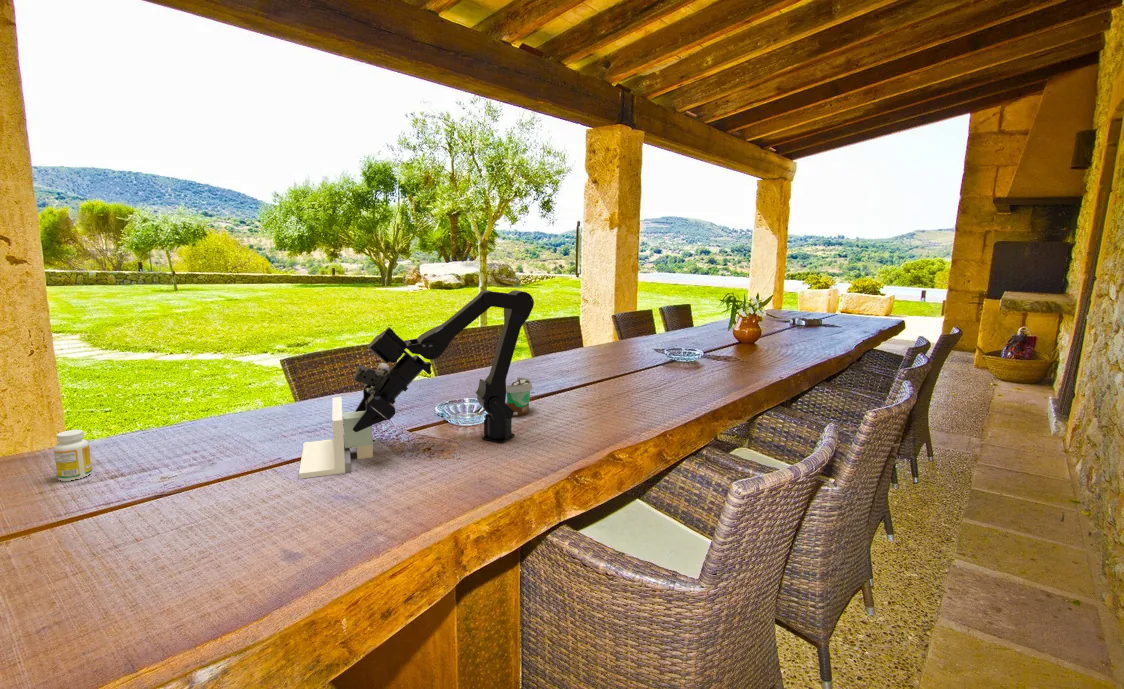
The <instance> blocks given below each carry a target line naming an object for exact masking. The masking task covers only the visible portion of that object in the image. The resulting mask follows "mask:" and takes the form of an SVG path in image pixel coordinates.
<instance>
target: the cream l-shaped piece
mask: <svg viewBox="0 0 1124 689" xmlns="http://www.w3.org/2000/svg"><path fill="white" fill-rule="evenodd" d="M342 405H343V400H342V396H335V397H332V414H331V415H332V417H331V419H332V421H331V423H332V436H333V438H332V439H323V440H322V439H321V440H316V441H305V442H303V446H302V451H301V452H302V453H301V460H300V464H299V471H298V479H299V480H302V479H309V478H316V477H324V476H325V477H326V476H332V475H340V474H347V473H352V462H351V448H345V437H344V418H343V406H342Z"/></svg>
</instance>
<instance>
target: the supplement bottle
mask: <svg viewBox="0 0 1124 689" xmlns="http://www.w3.org/2000/svg"><path fill="white" fill-rule="evenodd" d="M56 441H57V442H58V443H56V444H55V445H54V447H53V454H54V460H55V461H54V462H55V469H56V475H57V477H56V478H57V480H59V481H60V480H61V481H60V482H72V481H71V480H74V481H76V480H75V479H79V480H81V479H80V478H82V479H84V478H83V477H85V476H87V477H89V476H90V475H89V474H92V473H93V467H92V458H91V450H90V443H89V441H88V440H86V439H84V431H83V430H82V429H72V430H71V429H70V430H66V431H61V432H58V433H57V434H56ZM88 475H89V476H88ZM85 478H86V477H85Z"/></svg>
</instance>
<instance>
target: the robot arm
mask: <svg viewBox="0 0 1124 689" xmlns="http://www.w3.org/2000/svg"><path fill="white" fill-rule="evenodd" d="M534 304H535V300H534V299H533V296H532V295H531V294H530V293H528V292H527V291H522V290H517V289H516V290H515V289H514V290H511V291H510V292H500V291H492V290H487V289H484V290H481V291H480V292H479V293H478V294H477V295H476V296H475V297H473V299H472V300H471V299H470V301H469V302H467V303H466V304H465V305H464V306H463V307H461V308H460V309H459V310H458V311H457V312H455V313H454V314H453V315H452V316H450V317H449V318H448V319H447V320H445V321H444V322H443V323H441V324H439V325H437V326H435V327H433V328H431V329H428V330H426V331H425V332H424V333H421V334H420V335H419V336H418V337H417V338H413V339H406V340H403V339H402V338H401V337H400V336H399V335H398V334H397V333H396V332H395V331H394V330H393V329H392V328H391V327H390V326H389V327H386V329H385V330H383V331H382V332H380V333H379V334H377V335H376V336H375V337H374V338H373V339H372V341H370V342H369V344H368V346H367V349H368V350H370V351H371V352H372V353H373V354H375V355H376V356H377V357H378V358H380V359H381V360H382V361H383V363H386V364H388V363H391V364H394V365H393V366H391V368H389V370H388V369H387V370H385V371H384V372H383V373H381V372H378V371H377V369H374V368H371V367H368V366H365V365H361V364H359V365H358V366H357V369H356V371H355V374H354V375H353V378H354V379H353V380H354V381H355V382H357V383H362V384H364V385H363V386H364V387H362V391H363V392H362V394H363V397H362V398H361V400H360V402H359V404H358V406H357V407H356V408H355V411H354V412H358V411H365V412H364V413H363V415H362V416H361V418H360V419H359V420H358V422H357V423H356V425H355V426H354V428H353V431H355V432H358V431H361V430H363V429H365V428H367V427H370V426H372V427H373V426H375V425H377V424H379V423H382V422H384V421H389V420H391V419H392V418H393V417H395V415H396V407H395V405H394V404H395V403H396V399H397V397H399V395H401V393H403V392H407V390H408V389H409V388H408V387H409V385H410V384H411V383H412V382H413V381H415V379H416V377H417V376H419V375H420V374H421V373H422V372H423V371H424V372H425V373H426V374H428V375H429V376H430V375H431V374H432V370H431V369H432V362H431V360H437V359H438V358H440V356H441V355H443V353H444V352H445V350H446V349H447V348H448V347H449V346H450V344H451V343H452V341H453V339H454V338H456V336H457V335H459V334H460V332H462V331H463V330H464V329H466V328H467V327H468V326H469V325H470V324H472V323H473V322H474V321H475V320H476V319H477V318H479V317H480V316H481V315H482V314H484V313H485V312H486V311H487V310H489V309H490V308H492V307H493V308H500V309H503V326H502V329H501V333H500V337H499V340H498V343H497V346H496V350H495V354H494V358H493V361H492V363H491V364H492V365H491V368H490V371H489V374H488V375H487V377H486V378H485V379H482V378H480V379H479V382H478V387H477V389H476V391H475V394H476V399H477V400H476V401H477V403H478V404H479V405H480V406H481V407H482V408H483V410H484V411H485V412H486V414H484V420H483V436H481V439H482V440H485V441H490V442H496V443H500V444H503V443H505V442H507V441H509V440H510V439H512V438H513V437H515V433H513V432H512V428H513V427H512V425H513V424H512V422H513V421H512V418H513V417H512V416H513V413H514V411H513V410H512V409H511V408H510V407H509V406H508V405H507V403H506V401H507V393H506V388H507V376H508V373H509V370H510V367H511V362H512V360H513V356H514V354H515V349H516V346H517V342H518V339H519V335H520V332H521V329H522V327H523V325H524V324H525V323H526V322H527V320H528V319H529V317H530V315H531V312H532V311H533V309H534ZM406 350H408V351H409V352H410V353H411V354H410V353H409V352H408V351H406ZM412 355H413V356H412ZM420 356H421V357H420ZM422 357H423V358H424V359H426V360H429V361H425V360H424V359H422Z"/></svg>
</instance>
